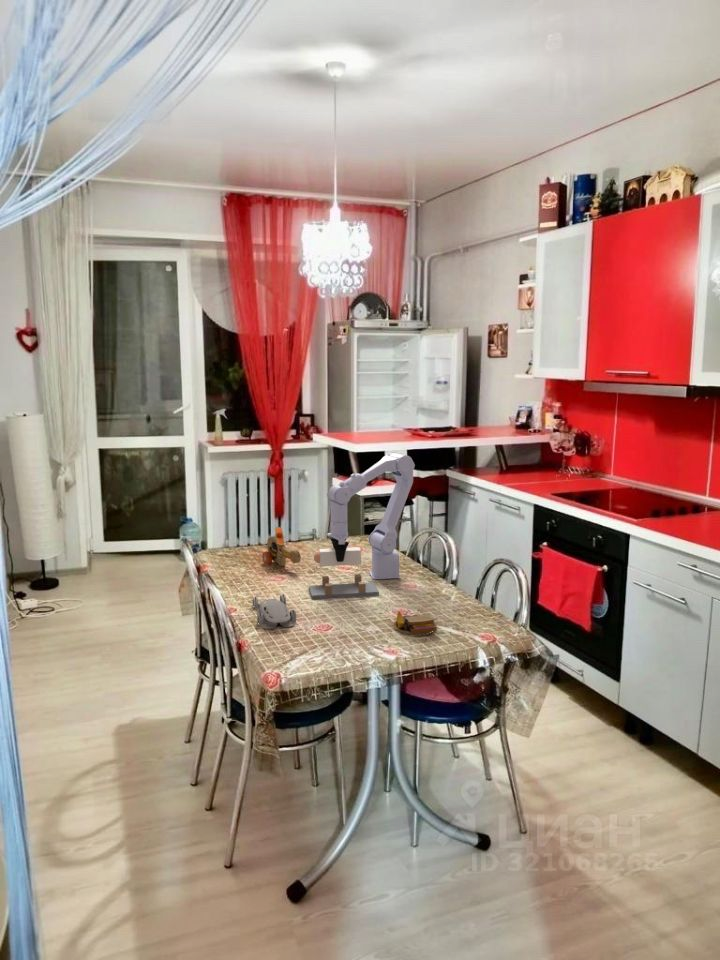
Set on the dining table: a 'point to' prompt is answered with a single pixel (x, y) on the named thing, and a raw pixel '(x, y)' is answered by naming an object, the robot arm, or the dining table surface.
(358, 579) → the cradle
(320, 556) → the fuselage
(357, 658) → the dining table surface
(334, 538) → the robot arm
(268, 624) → the car model
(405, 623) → the toy sandwich meal
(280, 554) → the toy helicopter
